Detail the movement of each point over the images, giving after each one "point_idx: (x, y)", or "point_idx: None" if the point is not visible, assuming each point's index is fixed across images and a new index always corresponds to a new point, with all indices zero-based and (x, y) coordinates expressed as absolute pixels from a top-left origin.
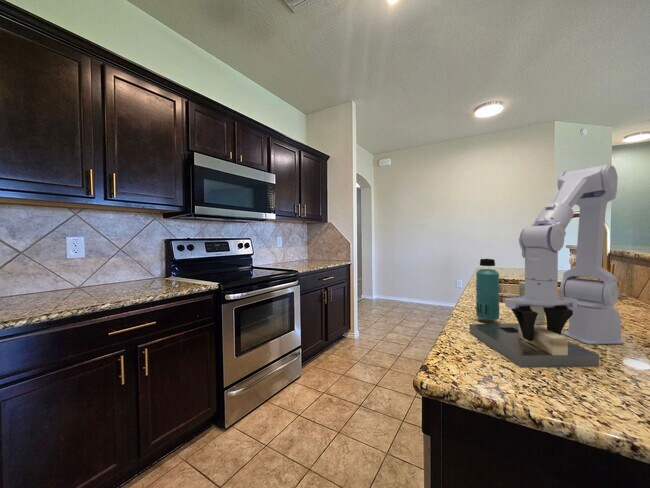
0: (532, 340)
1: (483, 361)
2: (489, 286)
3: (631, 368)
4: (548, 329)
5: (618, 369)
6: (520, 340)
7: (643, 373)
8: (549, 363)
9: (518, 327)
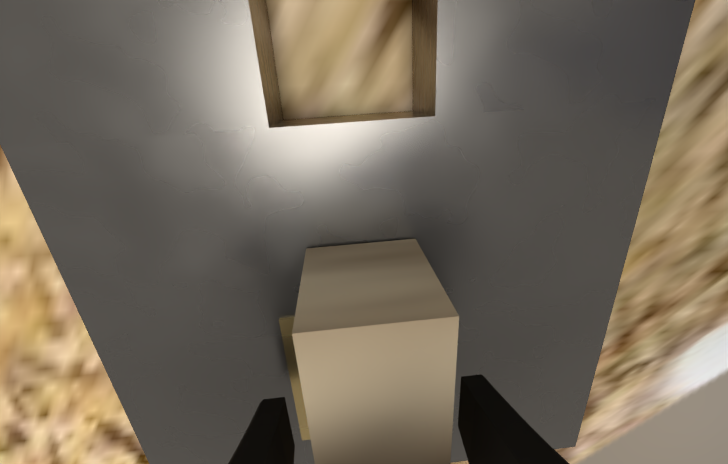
0: (292, 450)
1: (23, 401)
2: None
3: (653, 390)
4: (492, 435)
5: (593, 403)
6: (285, 307)
7: (644, 419)
8: None
9: (298, 297)
